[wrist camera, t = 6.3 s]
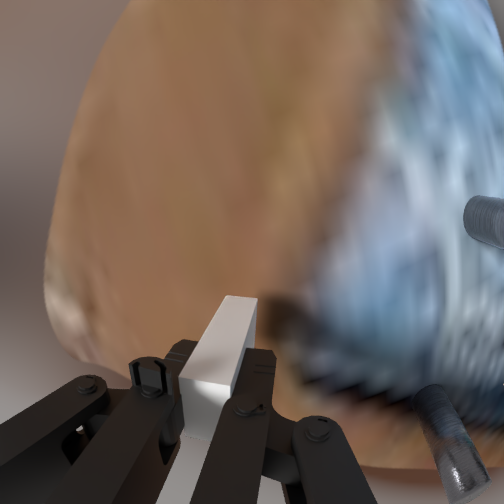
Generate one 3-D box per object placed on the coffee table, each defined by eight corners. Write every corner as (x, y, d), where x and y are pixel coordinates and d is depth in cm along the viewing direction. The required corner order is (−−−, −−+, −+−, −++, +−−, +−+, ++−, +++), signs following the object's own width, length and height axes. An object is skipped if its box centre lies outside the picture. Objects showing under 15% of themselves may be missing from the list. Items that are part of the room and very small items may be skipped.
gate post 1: (447, 383, 15) (499, 474, 7) (435, 409, 16) (475, 500, 7) (418, 385, 16) (465, 487, 7) (407, 412, 16) (441, 511, 8)
